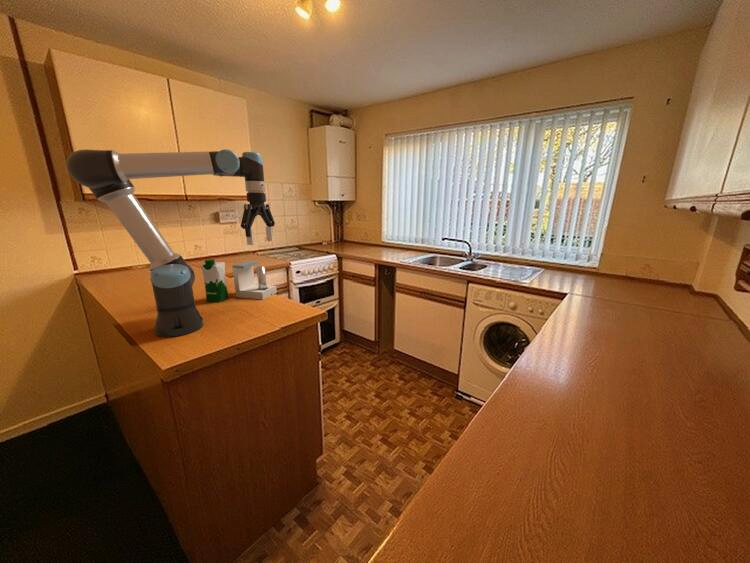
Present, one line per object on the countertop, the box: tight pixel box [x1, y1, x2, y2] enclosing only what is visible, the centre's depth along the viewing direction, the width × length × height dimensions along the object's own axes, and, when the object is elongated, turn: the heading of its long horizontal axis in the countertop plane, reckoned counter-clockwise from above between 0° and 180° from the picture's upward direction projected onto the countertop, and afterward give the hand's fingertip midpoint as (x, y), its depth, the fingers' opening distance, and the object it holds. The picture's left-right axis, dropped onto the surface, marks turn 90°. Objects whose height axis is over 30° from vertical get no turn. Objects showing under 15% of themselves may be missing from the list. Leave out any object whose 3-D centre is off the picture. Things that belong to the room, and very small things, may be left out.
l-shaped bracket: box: [232, 260, 278, 300], centre depth 151 cm, size 12×16×16 cm
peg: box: [256, 265, 268, 290], centre depth 150 cm, size 4×4×15 cm
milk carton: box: [199, 258, 229, 303], centre depth 142 cm, size 9×9×20 cm
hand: (260, 242), depth 130 cm, fingers open, 13 cm apart
